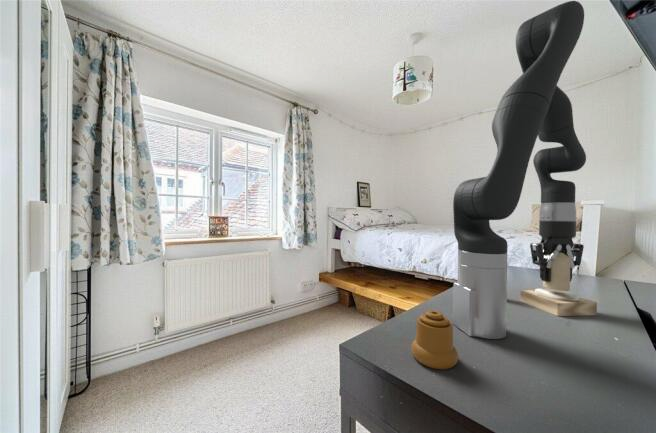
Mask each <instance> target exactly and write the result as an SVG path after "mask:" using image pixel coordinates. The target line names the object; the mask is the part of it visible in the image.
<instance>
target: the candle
mask: <svg viewBox="0 0 656 433" xmlns="http://www.w3.org/2000/svg"><path fill="white" fill-rule="evenodd" d="M545 256H551V255H547V254H546V255H545ZM546 262H547V259H545V263H546ZM550 268H551V281H550V282H546V281H542V287H543V288H545V289H553V290H559V291H565V292H569V291H570V290H571V282H570V258H569V257H568V256H566V255H565V254H563V253H558V255H557V257H556V258H555V260H554V261H552V265H551V267H550Z"/></svg>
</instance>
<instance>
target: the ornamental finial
mask: <svg viewBox="0 0 656 433" xmlns="http://www.w3.org/2000/svg"><path fill="white" fill-rule="evenodd" d="M453 325H454V324H453V322H451V321H450V319H449V318H448V317H447V316H445V315H444V314H443V313H442V312H440V311H439V310H434V309H433V310H431V309H430V310H427V311H426V312H425V313H421V314H420V315H419V316H418V317H417V318H416V330H415V331H416V333H415V339H414V340H413V341H412V343H411V349H410V350H411V352H412V356H413V357H414V358H415V359H416V361H417V362H419V363H420V364H421V365H423V366H425V367H428V368H431V369H435V370H448V369H452V368H453V367H455V366H456V364H457V363H458V361H459V354H458V351H457V349H456V347H455V346H454V333H453V330H454V327H453Z"/></svg>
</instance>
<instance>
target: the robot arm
mask: <svg viewBox="0 0 656 433" xmlns="http://www.w3.org/2000/svg"><path fill="white" fill-rule="evenodd" d="M584 21H585V9H584V7H583V5H582V4H581V3H580V2H579V1H578V0H577V1H576V0H570V1H566V2H563V3H561V4H558V5H556V6H554V7H551V8H550V9H547V10H545V11H543V12H541V13H539V14H537V15H535V16H533V17H531V18H529V19H527V20H526V21H524V22H522V24H520V26H518V29H517V32H516V34H515V49H516V55H517V58H518V62H519V65H520V67H521V72H522V74H521V75H520V76H519V77H518V78H517V79H516V80H515V81H514V82H513V83H512V84H511V85H510V86H509V88H507V90H505V93H504V94H503V95H502V97H501V99H500V101H499V104H498V106H497V108H496V110H495V113H494V116H493V120H492V122H491V130H492V136H493V138H494V142H495V143H496V149H497V152H496V155H495V156H496V157H495V159H494V162H493V165H492V166H491V169H490V171H489V172H488V174H487V176H484V177H478V178H472V179H468V180H464V181H462V182H461V183H460V184H458V186H457V187H456V189H455V192H454V195H453V201H452V202H453V203H452V208H453V209H452V211H453V212H452V213H453V231H454V236H455V240H456V242H457V281H455V282H454V283H453V285H452V286H453V288H452V289H453V292H452V293H453V294H452V295H453V296H452V297H453V298H452V301H453V302H452V303H453V304H452V325H454V326H455V327H456V328H458V329H460V330H461V331H462V332H463V333H465V334H466V335H468V337H477V338H481V339H482V338H483V339H487V340H500V339H504V338H505V337H506V336H507V312H508V311H507V306H508V305H507V304H508V303H507V301H508V300H507V299H508V298H507V296H508V295H507V294H508V292H507V290H508V241H507V239H505V238H504V237H503V236H500V235H499V234H497V233H496V232H494V231H493V229H492V228H491V224H490V221H501V220H505V219H507V218H509V217H510V216H511V215H512V214H513V213H514V212H515V210H516V208H517V207H518V205H519V202H520V198H521V195H522V192H523V191H522V190H523V186H524V183H525V179H526V174H527V172H528V171H527V170H528V167H529V163H530V159H531V156H532V153H533V152H534V151H533V150H534V148H535V144H536V142H537V139H539V141H540V142H543V143H557V144H560V145H562V146H557V147H555V146H554V147H549V148H542V149H540V150H538V151H537V152H536V153H535V155H534V157H533V160H532V162H533V163H532V164H533V167H534V169H535V173H536V174H537V177H538V181H539V185H540V186H539V187H540V208H539V214H538V217H539V221H538V223H539V224H538V235H539V236H541V239H540V242H537V243H536V242H535V243H534V242H531V243H530V244H529V247H530V254H531V259H532V265H533V264H534V265H536V266H538V267H539V278H540V280H541V281H542V282H543V281H546V282H550V281H551V268H550V267H551V265H552V261H554V260H555V258H556V257H557V255H558V253H563V254H565V255H566V256H568V257H569V258H570V283H571V282H572V280H573V269H574V268H575V267H579V266H581V265H582V263H581V262H582V257H583V253H584V246H585V245H584V244H582V243H575V242H574V241H573V239H575V238H576V236H577V206H576V184H575V182H573V181H572V180H571V181H570V180H560V179H555V178H553V177H552V176H551V174H558V173H559V174H561V173H568V172H569V173H570V172H576V171H579V170H581V169H582V168H583V167H584V166H585V164H586V161H587V153H586V151H585V150H584V147H583V146H582V144H581V142H580V141H579V139H578V137H577V134H576V131H575V126H574V115H573V105H572V102H571V99H570V98H569V96H568V95H567V94H566V93H565V92H564V91H563V90H562V89H561V88H560V87H559V85H558V83H559V80H560V78H561V75H562V73H563V72H564V71H563V70H564V69H565V67H566V65H567V63H568V61H569V59H570V57H571V55H572V53H573V52H574V49H575V48H576V45H577V44H578V41H579V39H580V36H581V34H582V31H583V27H584V24H585V23H584ZM546 254H547V255H551V256H545V255H546ZM574 258H575V260H574ZM545 259H547V262H546V263H545Z"/></svg>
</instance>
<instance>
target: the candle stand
mask: <svg viewBox="0 0 656 433" xmlns="http://www.w3.org/2000/svg"><path fill="white" fill-rule="evenodd" d="M519 299H520V302H522V303H524V304H526V305H528V306H532V307H533V308H536V309H538V310H541V311H543V312H546V313H548V314H552V315H554V316H557V317H567V316H568V317H570V316H573V317H574V316H575V317H577V316H578V317H579V316H597V314H598V313H597V312H598V302H596V301H592V300H591V299H590V300H589V299H586V298H584V297H580V296H579V295H577V294H576V293H573V292H569V291H559V290H553V289H548V288H545V287H543V288H539V287H538V288H535V289H533V290H532V289H530V290H529V289H527V290H525V289H524V290H523V289H522V290H520V298H519Z"/></svg>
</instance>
